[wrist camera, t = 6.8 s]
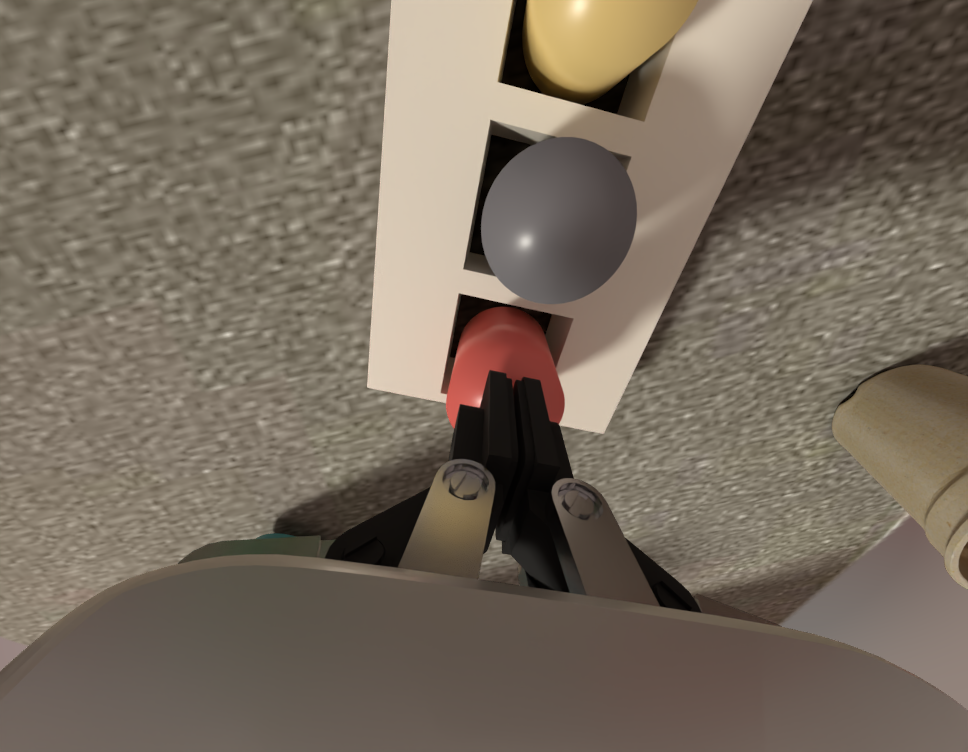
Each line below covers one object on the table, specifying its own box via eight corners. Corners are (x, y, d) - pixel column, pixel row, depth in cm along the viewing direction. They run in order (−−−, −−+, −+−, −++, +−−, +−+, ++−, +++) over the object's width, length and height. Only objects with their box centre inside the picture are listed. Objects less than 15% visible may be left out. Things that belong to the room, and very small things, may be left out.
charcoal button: (608, 168, 13) (665, 159, 9) (571, 278, 15) (602, 317, 11) (499, 140, 13) (501, 116, 8) (476, 256, 15) (467, 287, 10)
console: (758, -18, 13) (858, -94, 9) (585, 392, 21) (603, 433, 18) (433, -120, 12) (406, -247, 8) (389, 352, 20) (367, 387, 17)
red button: (558, 317, 16) (581, 368, 12) (532, 393, 18) (544, 461, 14) (467, 297, 16) (457, 342, 11) (452, 377, 18) (438, 441, 13)
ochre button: (661, -33, 12) (759, -161, 7) (613, 117, 14) (667, 87, 9) (541, -70, 11) (569, -227, 7) (509, 89, 13) (516, 44, 9)
